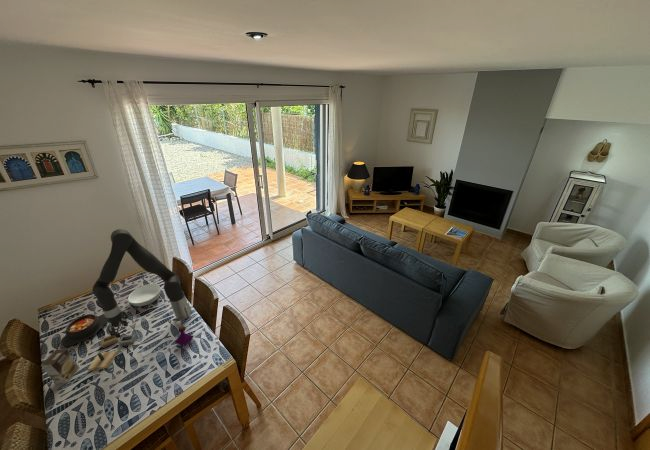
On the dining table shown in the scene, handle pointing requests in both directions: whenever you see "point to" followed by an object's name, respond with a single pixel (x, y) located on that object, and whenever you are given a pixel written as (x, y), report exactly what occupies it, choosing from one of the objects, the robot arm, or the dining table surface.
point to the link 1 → (109, 340)
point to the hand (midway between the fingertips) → (122, 331)
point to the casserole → (83, 329)
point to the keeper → (103, 360)
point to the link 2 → (127, 340)
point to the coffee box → (60, 366)
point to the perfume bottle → (183, 335)
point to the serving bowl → (144, 295)
